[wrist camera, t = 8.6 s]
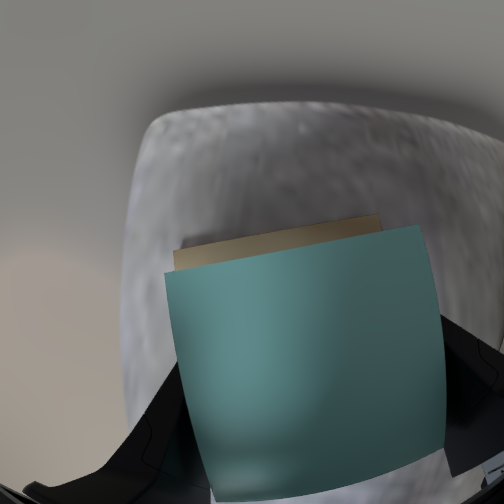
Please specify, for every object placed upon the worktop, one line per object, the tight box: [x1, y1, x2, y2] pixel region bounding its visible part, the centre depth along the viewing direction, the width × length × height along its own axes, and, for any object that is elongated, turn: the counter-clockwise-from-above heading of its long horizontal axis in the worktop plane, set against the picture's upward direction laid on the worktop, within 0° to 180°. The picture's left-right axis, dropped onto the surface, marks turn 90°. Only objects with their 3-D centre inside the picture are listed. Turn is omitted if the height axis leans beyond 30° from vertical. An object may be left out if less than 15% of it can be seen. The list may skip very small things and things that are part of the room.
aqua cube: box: [164, 224, 446, 502], centre depth 9 cm, size 7×7×6 cm
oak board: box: [173, 214, 382, 271], centre depth 15 cm, size 13×13×1 cm
